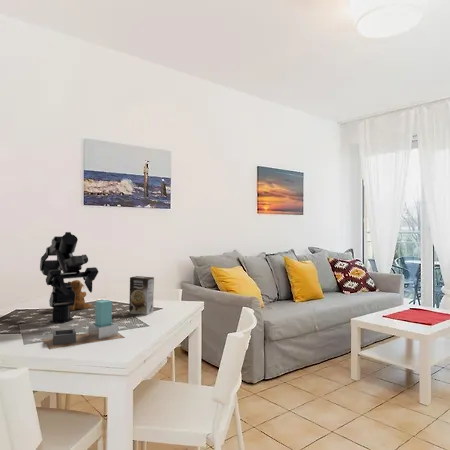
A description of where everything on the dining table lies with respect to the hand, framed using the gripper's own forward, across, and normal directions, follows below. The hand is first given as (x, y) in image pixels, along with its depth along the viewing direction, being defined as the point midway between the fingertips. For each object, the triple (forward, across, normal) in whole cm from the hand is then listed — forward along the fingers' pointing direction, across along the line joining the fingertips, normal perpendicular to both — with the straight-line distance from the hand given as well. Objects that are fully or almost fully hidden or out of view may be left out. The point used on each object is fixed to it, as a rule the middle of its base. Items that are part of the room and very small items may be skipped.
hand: (79, 293), depth 147 cm
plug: (+20, +1, -2) cm, 21 cm away
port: (+20, +1, -2) cm, 21 cm away
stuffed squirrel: (-16, +14, +35) cm, 41 cm away
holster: (+18, -12, 0) cm, 22 cm away
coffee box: (+4, +33, +15) cm, 36 cm away
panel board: (+20, -5, -1) cm, 21 cm away
